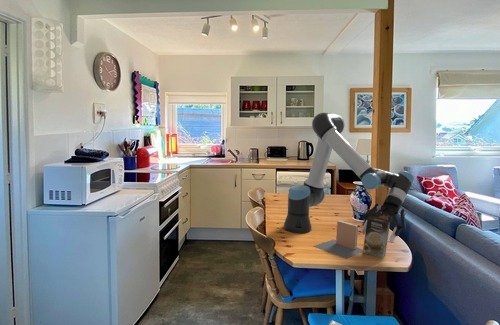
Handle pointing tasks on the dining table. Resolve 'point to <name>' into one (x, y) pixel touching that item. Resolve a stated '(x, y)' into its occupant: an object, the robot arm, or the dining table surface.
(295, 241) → the dining table surface
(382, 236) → the coffee box
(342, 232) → the tile
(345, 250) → the mat
